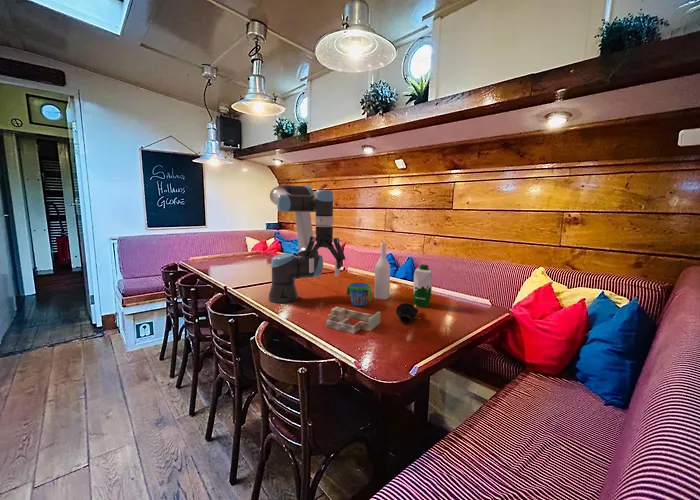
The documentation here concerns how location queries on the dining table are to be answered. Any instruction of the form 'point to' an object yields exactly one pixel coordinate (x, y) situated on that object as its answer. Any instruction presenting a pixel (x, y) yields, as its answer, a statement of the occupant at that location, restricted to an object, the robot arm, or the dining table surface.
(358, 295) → the snack cup
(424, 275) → the milk carton
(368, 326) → the box
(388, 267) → the bottle
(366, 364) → the dining table surface
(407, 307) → the fried shrimp in bowl
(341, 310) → the cream block
